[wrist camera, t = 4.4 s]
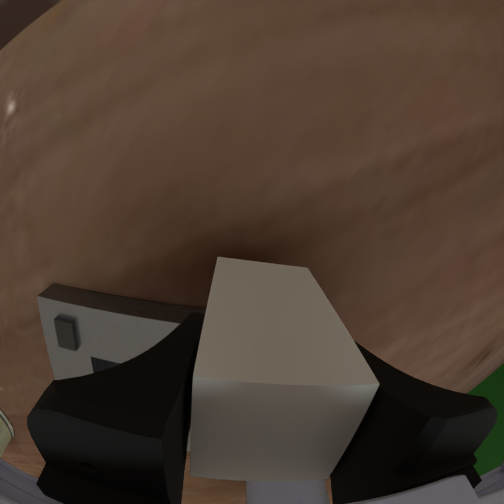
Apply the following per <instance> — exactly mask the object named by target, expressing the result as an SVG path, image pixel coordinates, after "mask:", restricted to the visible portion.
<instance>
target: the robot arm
mask: <svg viewBox="0 0 504 504" xmlns="http://www.w3.org/2000/svg"><path fill="white" fill-rule="evenodd" d="M204 318H205V314H203V313H196V312H192V313H190V314H189V315H188V316H187V317H186V318H185V319H184V320H183V321H182V322H181V323H180V324H179V325H178V326H177V327H176V328H175V329H174V330H173V331H172V332H171V333H169V334H168V335H167V336H166V337H165V338H163V339H162V340H161V341H159V342H158V343H157V344H155V345H154V346H153V347H151V348H150V349H148V350H147V351H145V352H143V353H142V354H140V355H138V356H136V357H134V358H132V359H130V360H128V361H125V362H123V363H121V364H118V365H116V366H114V367H111V368H108V369H105V370H102V371H99V372H95V373H92V374H88V375H84V376H79V377H73V378H67V379H61V380H53V381H52V383H51V384H50V385H49V386H48V387H47V389H46V390H45V391H44V393H43V394H42V396H41V397H40V399H39V400H38V402H37V403H36V405H35V406H34V408H33V409H32V411H31V412H30V414H29V415H28V417H27V426H28V429H29V431H30V434H31V437H32V439H33V440H34V442H35V444H36V446H37V448H38V450H39V451H40V453H41V455H42V457H43V458H44V460H45V462H46V464H45V466H44V468H43V471H42V473H41V475H40V477H39V479H38V478H36V477H34V476H32V475H30V474H28V473H26V472H24V471H22V470H20V469H18V468H16V467H15V466H13V465H11V464H9V463H7V462H6V461H4V460H2V459H0V504H181V500H182V489H183V479H184V470H185V461H186V453H187V445H188V437H189V432H190V427H191V408H192V384H193V373H194V368H195V363H196V357H197V352H198V347H199V342H200V337H201V332H202V327H203V323H204ZM354 342H355V341H354ZM355 344H356V345H357V347H358V349H359V350H360V352H361V354H362V355H363V357H364V359H365V360H366V362H367V364H368V365H369V367H370V369H371V370H372V372H373V374H374V375H375V377H376V379H377V380H378V382H379V384H380V385H379V387H378V389H377V391H376V393H375V395H374V397H373V399H372V401H371V403H370V405H369V407H368V409H367V411H366V413H365V415H364V417H363V419H362V421H361V423H360V425H359V427H358V429H357V430H356V432H355V434H354V436H353V438H352V439H351V441H350V443H349V445H348V446H347V448H346V450H345V452H344V453H343V455H342V457H341V458H340V460H339V462H338V463H337V465H336V466H335V468H334V470H333V471H332V473H331V474H330V479H331V489H332V501H333V504H504V461H503V462H502V464H501V466H499V467H497V468H495V469H493V470H491V471H490V472H488V473H486V474H484V475H482V476H479V474H478V473H477V471H476V469H475V468H474V466H473V465H475V464H476V462H477V458H476V457H475V455H474V452H475V451H476V450H477V449H478V448H479V446H480V445H481V444H482V442H483V441H484V440H485V439H486V437H487V436H488V435H489V433H490V432H491V430H492V429H493V427H494V425H495V423H496V420H497V414H498V412H497V410H496V408H495V407H494V406H493V405H492V403H491V402H490V401H489V400H488V399H487V398H486V397H482V396H476V395H470V394H464V393H459V392H455V391H451V390H447V389H444V388H440V387H437V386H434V385H431V384H429V383H426V382H424V381H421V380H419V379H416V378H414V377H412V376H410V375H408V374H406V373H404V372H402V371H400V370H398V369H396V368H394V367H392V366H391V365H389V364H387V363H386V362H384V361H383V360H381V359H379V358H378V357H376V356H375V355H373V354H372V353H370V352H369V351H368V350H366V349H365V348H363V347H362V346H361V345H359V344H358V343H357V342H355ZM246 504H330V501H329V497H328V493H327V489H326V485H325V481H324V479H320V480H306V481H246Z"/></svg>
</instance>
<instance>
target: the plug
mask: <svg viewBox="0 0 504 504" xmlns="http://www.w3.org/2000/svg"><path fill="white" fill-rule="evenodd" d="M379 385H380V384H379V382H378V380H377V379H376V377H375V375H374V374H373V372H372V370H371V369H370V367H369V365H368V364H367V362H366V360H365V359H364V357H363V355H362V354H361V352H360V350H359V349H358V347H357V345H356V344H355V342H354V340H353V339H352V337H351V336H350V334H349V332H348V331H347V329H346V327H345V326H344V324H343V323H342V321H341V319H340V318H339V316H338V315H337V313H336V311H335V310H334V308H333V307H332V305H331V304H330V302H329V300H328V299H327V297H326V296H325V294H324V293H323V291H322V289H321V288H320V286H319V285H318V283H317V282H316V280H315V278H314V277H313V275H312V274H311V272H310V271H309V269H308V268H305V267H297V266H289V265H281V264H272V263H264V262H256V261H248V260H240V259H232V258H225V257H217V262H216V266H215V271H214V275H213V280H212V285H211V289H210V294H209V299H208V303H207V308H206V313H205V318H204V323H203V327H202V332H201V337H200V342H199V347H198V352H197V357H196V363H195V368H194V373H193V384H192V408H191V443H190V476H193V477H201V478H211V479H222V480H236V481H306V480H320V479H328V477H329V476H330V474H331V473H332V471H333V470H334V468H335V466H336V465H337V463H338V462H339V460H340V458H341V457H342V455H343V453H344V452H345V450H346V448H347V446H348V445H349V443H350V441H351V439H352V438H353V436H354V434H355V432H356V430H357V429H358V427H359V425H360V423H361V421H362V419H363V417H364V415H365V413H366V411H367V409H368V407H369V405H370V403H371V401H372V399H373V397H374V395H375V393H376V391H377V389H378V387H379Z"/></svg>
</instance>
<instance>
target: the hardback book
mask: <svg viewBox="0 0 504 504" xmlns="http://www.w3.org/2000/svg"><path fill="white" fill-rule="evenodd" d="M467 394H470V395H476V396H482V397H486V398H487V399H488V400H489V401H490V402H491V403H492V405H493V406H494V407H495V408H496V410H497V412H498V414H497V420H496V423H495V425H494V427H493V429H492V430H491V432H490V433H489V435H488V436H487V437H486V439H485V440H484V441H483V442H482V444H481V445H480V446H479V448H478V449H477V450H476V451H475V452H474V455H475V457H476V458H477V462H476V464H475V465H473V466H474V468H475V469H476V471H477V473H478V474H479V476H482V475H484V474H486V473H488V472H490V471H491V470H493V469H495V468H497V467H499V466H501V464H502V462H503V461H504V364H502V365H501V366H500V367H499V368H498V369H497V370H496V371H494V372H493V373H492V374H491V375H490V376H489V377H487V378H486V379H485V380H484V381H483V382H481V383H480V384H479V385H478V386H476V387H475V388H474V389H472V390H471V391H470V392H469V393H467Z"/></svg>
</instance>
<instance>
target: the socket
mask: <svg viewBox="0 0 504 504" xmlns="http://www.w3.org/2000/svg"><path fill="white" fill-rule="evenodd" d="M37 299H38V305H39V311H40V317H41V322H42V327H43V332H44V337H45V342H46V346H47V350H48V355H49V359H50V362H51V366H52V370H53V374H54V377H55V380H61V379H67V378H73V377H79V376H84V375H88V374H92V373H95V372H99V371H102V370H105V369H108V368H111V367H114V366H116V365H118V364H121V363H123V362H125V361H128V360H130V359H132V358H134V357H136V356H138V355H140V354H142V353H143V352H145V351H147V350H148V349H150V348H151V347H153V346H154V345H155V344H157V343H158V342H159V341H161V340H162V339H163V338H165V337H166V336H167V335H168V334H169V333H171V332H172V331H173V330H174V329H175V328H176V327H177V326H178V325H179V324H180V323H181V322H182V321H183V320H184V319H185V318H186V317H187V316H188V315H189V314H190V313H192V312H196V313H203V314H205V313H206V309H204V308H196V307H188V306H181V305H174V304H167V303H160V302H153V301H147V300H140V299H134V298H128V297H122V296H116V295H110V294H105V293H99V292H94V291H88V290H83V289H78V288H73V287H68V286H63V285H58V284H52V285H51V286H49V287H48V288H47V289H45V290H44V291H43V292H42V293H40V294H39V295H38V296H37ZM190 443H191V427H190V432H189V437H188V445H187V452H190Z"/></svg>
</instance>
